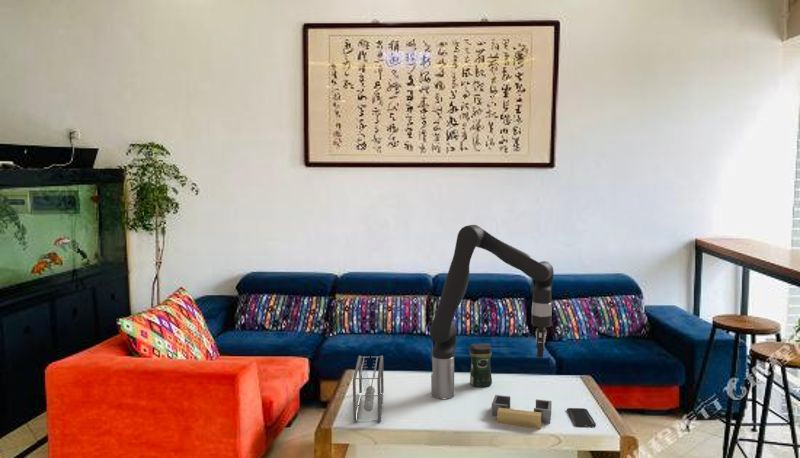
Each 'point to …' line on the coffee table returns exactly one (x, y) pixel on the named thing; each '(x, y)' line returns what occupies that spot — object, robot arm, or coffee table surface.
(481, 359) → the coffee jar
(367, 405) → the newton's cradle
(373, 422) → the coffee table surface
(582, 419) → the phone
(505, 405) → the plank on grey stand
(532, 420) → the link bar
